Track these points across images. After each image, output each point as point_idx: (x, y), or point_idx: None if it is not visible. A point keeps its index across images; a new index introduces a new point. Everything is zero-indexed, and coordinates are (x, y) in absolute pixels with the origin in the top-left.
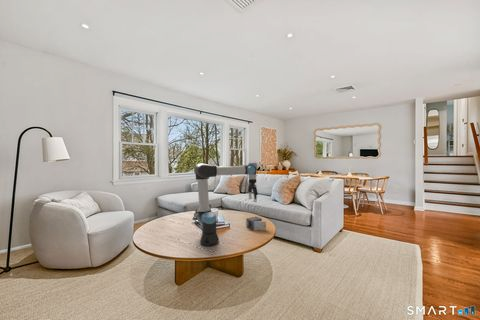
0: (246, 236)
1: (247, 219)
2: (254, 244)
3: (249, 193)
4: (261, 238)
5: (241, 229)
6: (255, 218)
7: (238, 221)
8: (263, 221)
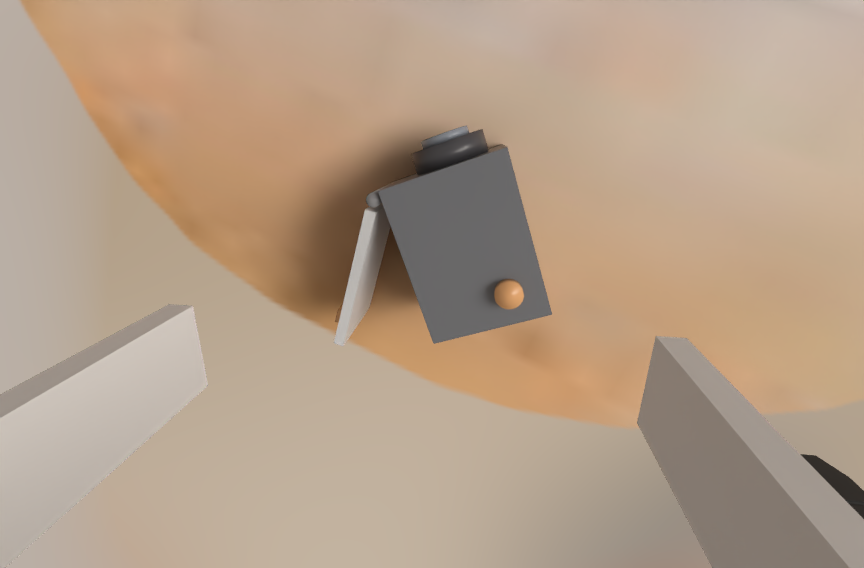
0: (261, 50)
1: (481, 155)
2: (79, 63)
3: (810, 560)
4: (193, 180)
5: (469, 62)
6: (460, 271)
7: (771, 119)
8: (340, 317)
